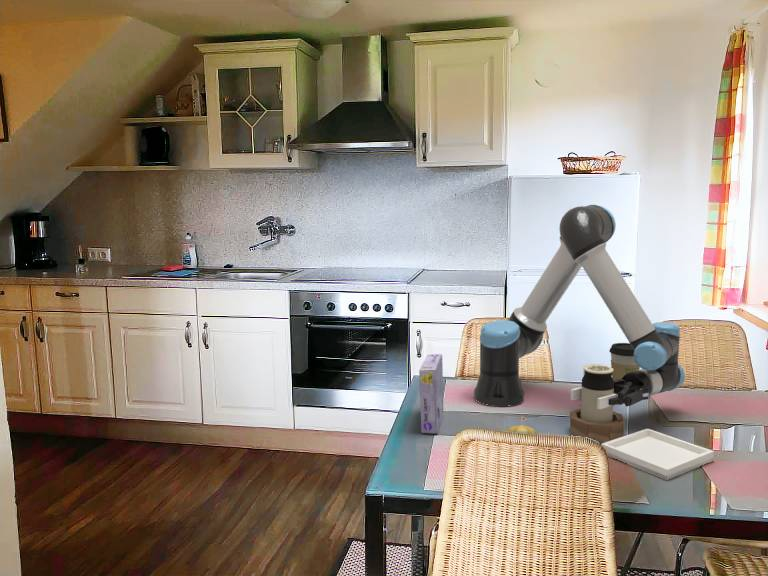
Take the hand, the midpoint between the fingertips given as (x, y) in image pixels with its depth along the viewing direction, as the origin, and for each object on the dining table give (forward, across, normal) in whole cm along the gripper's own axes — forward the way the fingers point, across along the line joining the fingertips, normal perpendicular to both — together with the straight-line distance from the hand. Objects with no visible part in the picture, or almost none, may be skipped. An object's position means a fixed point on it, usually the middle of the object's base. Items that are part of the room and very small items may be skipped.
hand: (584, 399), depth 172 cm
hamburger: (+26, -4, -11) cm, 29 cm away
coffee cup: (-40, +18, -11) cm, 45 cm away
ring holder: (-5, 0, -10) cm, 12 cm away
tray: (-5, -18, -10) cm, 21 cm away
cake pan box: (+25, +32, -11) cm, 42 cm away
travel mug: (-5, 0, -11) cm, 12 cm away
